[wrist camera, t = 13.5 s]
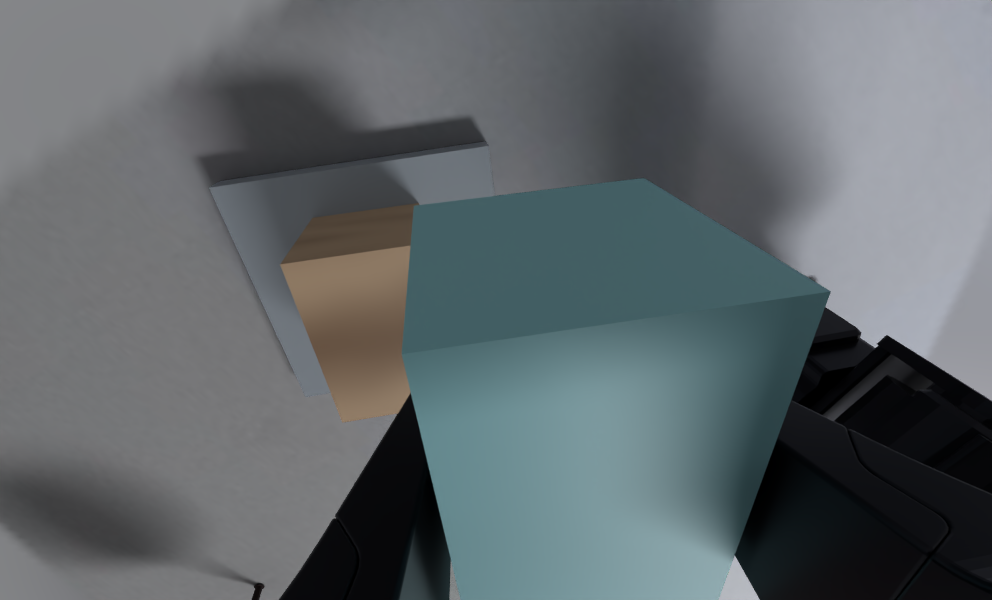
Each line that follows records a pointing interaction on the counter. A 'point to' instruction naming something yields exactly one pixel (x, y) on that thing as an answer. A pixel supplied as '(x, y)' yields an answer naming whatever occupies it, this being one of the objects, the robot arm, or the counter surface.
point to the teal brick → (597, 387)
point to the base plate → (330, 191)
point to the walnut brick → (356, 304)
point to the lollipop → (257, 591)
